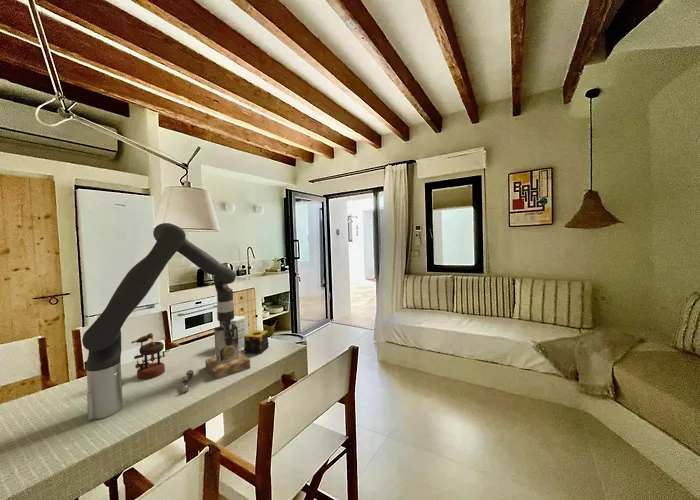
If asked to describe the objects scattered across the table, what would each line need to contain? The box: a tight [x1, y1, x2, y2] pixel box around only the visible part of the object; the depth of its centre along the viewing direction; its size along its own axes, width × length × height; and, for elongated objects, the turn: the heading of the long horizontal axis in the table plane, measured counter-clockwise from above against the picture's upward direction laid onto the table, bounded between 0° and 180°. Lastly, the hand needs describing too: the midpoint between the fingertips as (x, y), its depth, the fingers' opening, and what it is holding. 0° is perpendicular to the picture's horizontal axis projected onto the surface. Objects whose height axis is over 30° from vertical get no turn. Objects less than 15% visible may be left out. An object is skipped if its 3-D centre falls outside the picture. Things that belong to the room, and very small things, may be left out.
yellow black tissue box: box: [243, 329, 270, 355], centre depth 152 cm, size 10×10×10 cm
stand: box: [205, 350, 251, 380], centre depth 131 cm, size 16×16×4 cm
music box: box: [130, 332, 170, 381], centre depth 127 cm, size 15×11×20 cm
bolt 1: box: [182, 369, 195, 383], centre depth 121 cm, size 6×3×3 cm, turn 11°
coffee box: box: [213, 324, 240, 364], centre depth 131 cm, size 9×6×16 cm
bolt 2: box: [179, 382, 190, 394], centre depth 111 cm, size 6×3×3 cm, turn 41°
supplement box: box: [230, 315, 249, 349], centre depth 159 cm, size 10×9×17 cm
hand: (226, 343), depth 131 cm, fingers open, 7 cm apart
